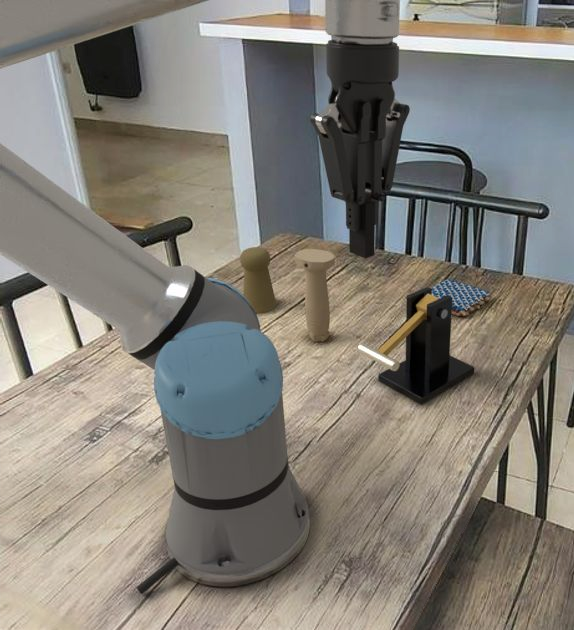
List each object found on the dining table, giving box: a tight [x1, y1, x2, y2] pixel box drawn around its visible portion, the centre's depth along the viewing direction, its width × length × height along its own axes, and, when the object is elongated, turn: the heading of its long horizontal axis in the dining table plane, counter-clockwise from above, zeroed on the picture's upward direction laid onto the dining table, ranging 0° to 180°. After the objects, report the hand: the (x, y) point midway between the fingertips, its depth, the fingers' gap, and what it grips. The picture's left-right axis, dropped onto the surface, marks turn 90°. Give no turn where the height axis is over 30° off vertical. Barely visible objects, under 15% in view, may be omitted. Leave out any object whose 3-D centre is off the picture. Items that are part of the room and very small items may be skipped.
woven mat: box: [431, 278, 491, 317], centre depth 127 cm, size 10×11×2 cm
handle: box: [294, 248, 336, 343], centre depth 111 cm, size 5×6×15 cm
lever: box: [357, 294, 439, 371], centre depth 97 cm, size 13×7×2 cm, turn 137°
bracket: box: [377, 286, 475, 406], centre depth 101 cm, size 12×9×14 cm
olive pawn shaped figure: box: [239, 246, 277, 314], centre depth 122 cm, size 6×6×11 cm
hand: (361, 253), depth 80 cm, fingers closed
